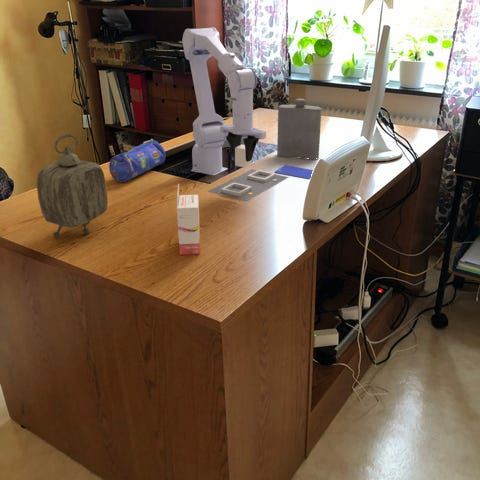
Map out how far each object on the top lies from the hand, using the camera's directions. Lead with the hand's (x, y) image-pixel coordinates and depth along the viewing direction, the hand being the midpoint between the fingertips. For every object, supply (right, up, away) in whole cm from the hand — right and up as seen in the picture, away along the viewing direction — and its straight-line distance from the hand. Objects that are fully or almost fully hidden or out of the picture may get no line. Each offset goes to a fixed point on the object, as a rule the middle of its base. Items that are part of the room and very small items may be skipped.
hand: (242, 159), depth 158 cm
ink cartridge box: (-13, -25, -30) cm, 41 cm away
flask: (+20, +6, +33) cm, 39 cm away
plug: (0, -1, +1) cm, 2 cm away
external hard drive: (-7, +13, +49) cm, 51 cm away
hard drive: (+18, -3, +17) cm, 24 cm away
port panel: (+2, -7, +7) cm, 10 cm away
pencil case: (-34, -2, +19) cm, 39 cm away
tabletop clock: (-41, -22, -23) cm, 52 cm away
